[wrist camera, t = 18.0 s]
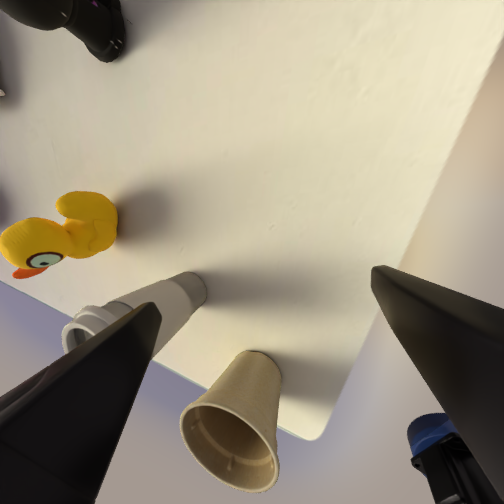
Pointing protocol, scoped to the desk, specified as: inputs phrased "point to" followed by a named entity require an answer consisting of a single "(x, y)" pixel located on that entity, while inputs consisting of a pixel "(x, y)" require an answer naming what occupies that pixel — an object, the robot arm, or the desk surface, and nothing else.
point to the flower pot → (238, 424)
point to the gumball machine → (75, 21)
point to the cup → (161, 293)
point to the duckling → (61, 234)
